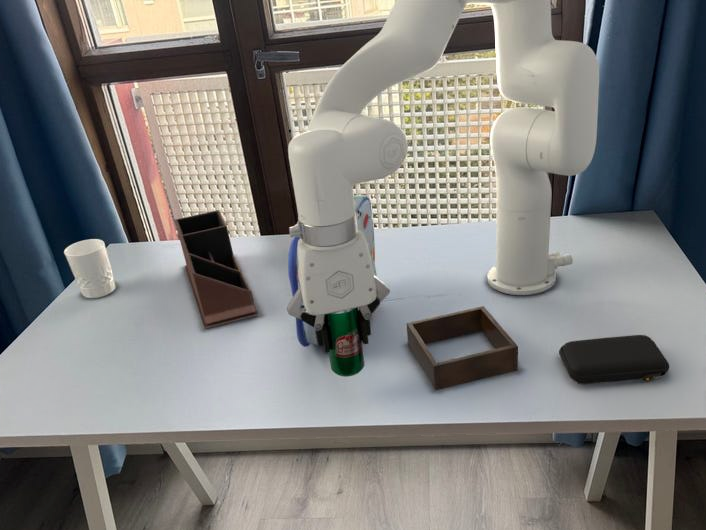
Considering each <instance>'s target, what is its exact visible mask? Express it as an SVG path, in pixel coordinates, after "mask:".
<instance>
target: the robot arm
mask: <svg viewBox="0 0 706 530" xmlns="http://www.w3.org/2000/svg"><path fill="white" fill-rule="evenodd" d="M469 5H489V6H490V8H491V10H492V11H491V12H492V16H493V23H494V25H493V26H494V40H495V41H494V42H495V43H494V44H495V66H496V80H497V87H498V90H499V93H500V95H501V96H502V97H503V98H504V99H506V100H508V101H510V102H513V103H519V104H526V105H533V106H540V107H548V108H553V109H554V110H549V109H542V108H535V107H533V108H532V107H526V106H525V107H524V106H523V107H521V106H520V107H511V108H509V109H506V110H504V111H503V112H502V113H500V114H499V115H498V116H497V117H496V119H495V120H494V122H493V124H492V127H491V131H490V139H489V140H490V151H491V155H492V159H493V165H494V171H495V184H496V185H495V186H496V187H495V188H496V200H495V201H496V202H495V205H496V206H495V209H496V213H495V217H496V218H495V236H496V237H495V254H496V255H495V265H494V266H492V268H490V269H489V271H488V273H487V282H488V284H489V285H490V287H491V288H493V290H496V291H498V292H500V293H502V294H508V295H512V296H531V295H537V294H540V293H543V292H546V291H547V290H549V289H551V288H552V287H553V286H554V285H555V284H556V282H557V272H556V271H555V270H558V267H565V266H568V265H572V264H573V262H574V260H573V256H572V255H571V253H568V254H564V255H560V252H559V251H554V252H550V237H551V235H550V234H551V233H550V232H551V215H552V214H551V213H552V195H553V193H552V185H551V181H550V178H549V176H548V173H549V174H554V175H560V176H567V177H568V176H569V177H571V176H578V175H580V174H581V173H583V172H585V171H586V170H587V169H588V167H589V166H590V165H591V163H592V160H593V158H594V155H595V152H596V146H597V136H598V117H599V116H598V115H599V114H598V113H599V95H600V94H599V91H600V68H599V67H600V66H599V61H598V59H597V55H596V53H595V52H594V50H593V49H592V48H591V47H590V46H589V45H587V44H586V43H584V42H580V41H577V40H576V41H575V40H562V39H555V37H554V35H553V31H552V29H553V28H552V5H551V0H395V2H394V4H393V6H392V7H391V10H390V11H389V14H388V16H387V19H386V20H385V22H384V25H383V26H382V28H381V29H380V31H379V32H378V34H376V35H375V36H374V37H373V38H372V39H370V40H369V41H368V42H366V43H365V44H364V45H363V46H362V47H361V48H360V49H359V50H357V51H356V52H355V53H354V54H353V55H352V56H351V57H350V58H349V59H348V60H346V62H344V64H342V65H341V67H339V68H338V69H337V71H336V72H335V73H334V74H333V76H332V77H331V78H330V80H329V81H328V83H327V84H326V86H325V88H324V90H323V92H322V94H321V96H320V98H319V101H318V103H317V105H316V106H315V109H314V111H313V114H312V116H311V119H310V122H309V125H308V128H307V129H308V130H307V131H305V132H302V133H299V134H297V135H295V136H294V137H293V138H291V140H290V141H289V143H288V146H287V147H288V148H287V153H288V161H289V167H290V174H291V179H292V187H293V191H294V198H295V204H296V210H297V216H298V217H297V222H296V224H294V226H290V227H288V231H289V235H290V238H294V237H300V239H299V241H298V248H297V264H298V277H299V286H300V287H299V288H298V290H297V291H296V293H295V295H294V296H293V295H292V298H291V300H290V301H289V302H288V305H287V306H286V311H287V313H288V315H290V316H292V317H294V318H295V319H296V318H298V319H301V320H302V321H303V322H305V323H307V324H309V325H310V326H312V327H314V328H315V333H316V340H317V344H318V345H317V346H318V347H322V348H323V351H324V354H329V352H330V348H329V341H328V334H327V329H326V327H325V325H324V316H325V314H329V313H334V312H338V311H343V310H348V309H352V308H357V307H358V308H359V310H358V313H359V322H360V330H361V338H362V345H369V336H371V335H372V330H371V329H372V328H371V321H370V320H371V319H372V316H373V315H372V314H374V312H375V311H376V310H377V308H378V307H379V306H380V304H381V302H382V301H383V300H384V299H385V298H386V297H388V296H389V294H390V293H391V290H390V288H389V286H388V284H386V283H385V282H383V281H382V280H381V279H380V278H378V277H376V276H375V275H374V273H373V267H372V262H371V257H370V252H369V248H368V245H367V241H366V238H365V235H364V234H363V233H362V232H361V231H360V230H359V229H358V228H357V219H356V211H355V202H354V186H355V185H358V184H362V183H367V182H373V181H377V180H381V179H382V180H383V179H385V178H387V177H390V176H392V175H393V174H394V173H396V172H397V171H398V170H399V169H400V167H401V166H402V165H403V164H404V162H405V160H406V158H407V154H408V139H407V136H406V133H405V131H403V129H402V128H401V127H400V126H399V125H398V124H396V123H395V122H393V121H391V120H388V119H385V118H381V117H375V116H368V115H364V114H363V112H364V111H365V110H366V108H367V107H368V105H369V104H371V102H372V101H373V100H374V99H375V98H377V97H378V95H380V94H381V93H384V92H385V91H387V90H388V89H389V88H392V87H394V86H396V85H398V84H401V83H403V82H406V81H408V80H412V79H414V78H416V77H418V76H420V75H422V74H425V73H427V72H428V71H430V70H432V69H434V68H435V67H436V66H437V65H438V63H439V62H440V60H441V58H442V56H443V54H444V51H445V50H446V48H447V45H448V43H449V41H450V39H451V37H452V35H453V33H454V31H455V29H456V26H457V25H458V23H459V20H460V18H461V16H462V14H463V12H464V10H465V8H466V7H467V6H469ZM302 303H304V306H305V309H302V308H300V307H301V305H302Z"/></svg>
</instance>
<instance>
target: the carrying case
mask: <svg viewBox="0 0 706 530" xmlns="http://www.w3.org/2000/svg"><path fill="white" fill-rule="evenodd" d="M558 354H559V356H560V359H561V361H562V363H563V365H564V368H565V371H566V372H567V375H568V377H569V378H570V379H572V380H573V381H574V382H575V383H577V384H579V385H589V384H590V385H591V384H604V383H615V382H625V381H627V382H628V381H637V380H642V382H643V383H646V382H647V383H648V382H651V381H653V380H657V379H661V378H662V377H663V376H665V375H666V374H667V373H668V372H669V371H670V364H669V361H668V360H667V359H666V357H665V355H664V354H663V353H662V351H661V350H660V348H659V347H658V345H657V344H656V342H655V341H654V339H652V338H651V337H650V336H648V335H647V334H634V335H633V334H632V335H622V336H610V337H600V338H589V339H581V340H571V341H568V342H566V343H564V344H563V345H562V346H561V347H560V348H559V351H558Z"/></svg>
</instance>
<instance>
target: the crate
mask: <svg viewBox="0 0 706 530" xmlns="http://www.w3.org/2000/svg"><path fill="white" fill-rule="evenodd" d="M405 325H406V337H407V346H408V348H409V350H410V352H411V353H412V355H413V356H414V358H415V360H416V361H417V363H418V365H419V366H420V368H421V370H422V371H423V373H424V374H425V376H426V378H427V380H428V381H429V383H430V384H431V386H432V387H433V389H434V391H439V390H443V389H447V388H451V387H456V386H459V385H464V384H467V383H471V382H476V381H480V380H484V379H488V378H493V377H496V376H501V375H505V374H509V373H510V374H511V373H514V372H517V371H518V370H519V345H518V344H517V343H516V342H515V341H514V340H513V338H512V337H511V336H510V335H509V333H507V331H506V330H505V329H504V328H503V327H502V326H501V324H500V323H499V322H498V321H497V320H496V319H495V317H494V316H493V315H492V314H491V313H490V312H489V310H488V309H487V308H486V307H485V306H484V305H481V306H476V307H471V308H467V309H463V310H459V311H458V310H457V311H455V312H450V313H445V314H440V315H435V316H432V317H428V318H423V319H419V320H414V321H411V322H406V324H405ZM476 333H481V334H482V335H483V336H484V337H485V339H486V340H487V341H488V342H489V343H490V345H491V346H492V347H493V348H494V349H488V350H485V351H481V352H476V353H471V354H468V355H463V356H460V357H455V358H450V359H446V360H442V361H438V362H437V360H436V359H435V357H434V356H433V354H432V353H431V351H430V350H429V348H428V347H427V345H429V344H435V343H438V342H443V341H447V340H452V339H456V338H460V337H465V336H468V335H473V334H476Z"/></svg>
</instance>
